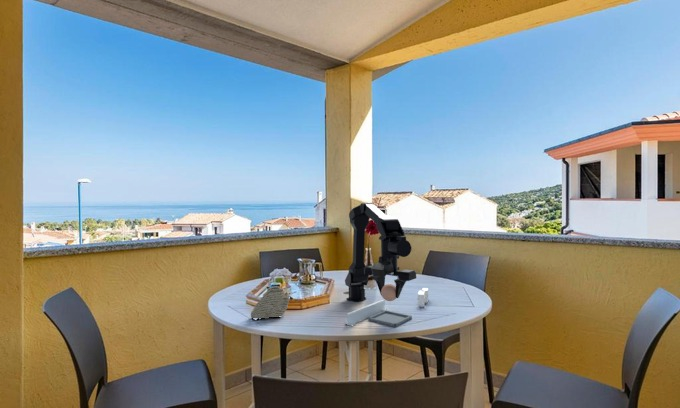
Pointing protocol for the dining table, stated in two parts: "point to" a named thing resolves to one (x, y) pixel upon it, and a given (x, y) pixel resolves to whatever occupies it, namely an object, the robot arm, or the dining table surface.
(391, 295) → the ball
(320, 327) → the dining table surface
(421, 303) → the napkin holder
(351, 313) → the acrylic wall
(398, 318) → the coaster
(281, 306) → the fossil tooth
